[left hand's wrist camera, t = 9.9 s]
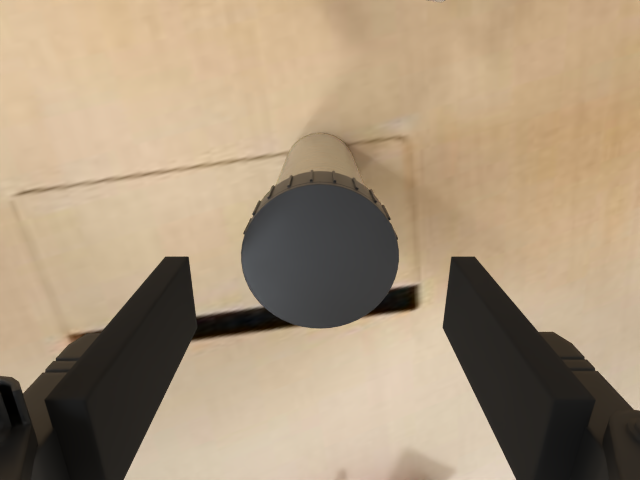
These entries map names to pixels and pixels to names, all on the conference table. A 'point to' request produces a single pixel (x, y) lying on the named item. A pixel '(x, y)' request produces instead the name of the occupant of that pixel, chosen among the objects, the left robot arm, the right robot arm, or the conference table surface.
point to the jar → (320, 157)
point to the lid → (320, 250)
